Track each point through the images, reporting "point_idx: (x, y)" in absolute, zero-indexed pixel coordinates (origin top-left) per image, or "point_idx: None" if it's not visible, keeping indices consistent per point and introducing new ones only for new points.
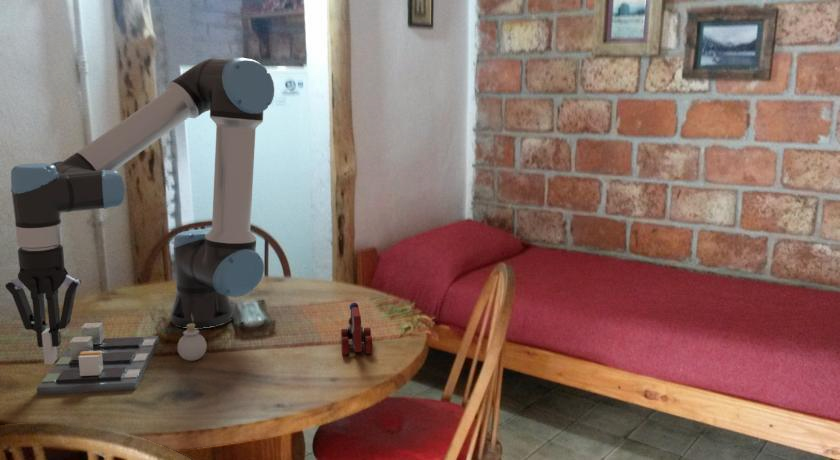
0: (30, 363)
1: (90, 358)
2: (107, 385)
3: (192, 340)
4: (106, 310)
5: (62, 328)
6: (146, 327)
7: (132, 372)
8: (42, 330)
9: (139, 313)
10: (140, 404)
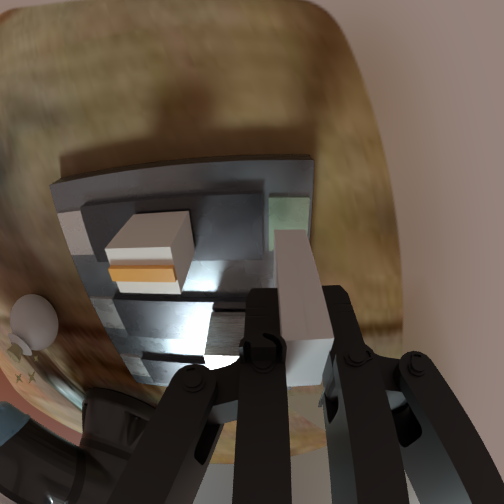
0: (363, 324)
1: (131, 244)
2: (105, 173)
3: (13, 322)
4: None
5: (199, 365)
6: None
7: (76, 238)
8: (333, 359)
9: (225, 433)
10: (30, 108)
